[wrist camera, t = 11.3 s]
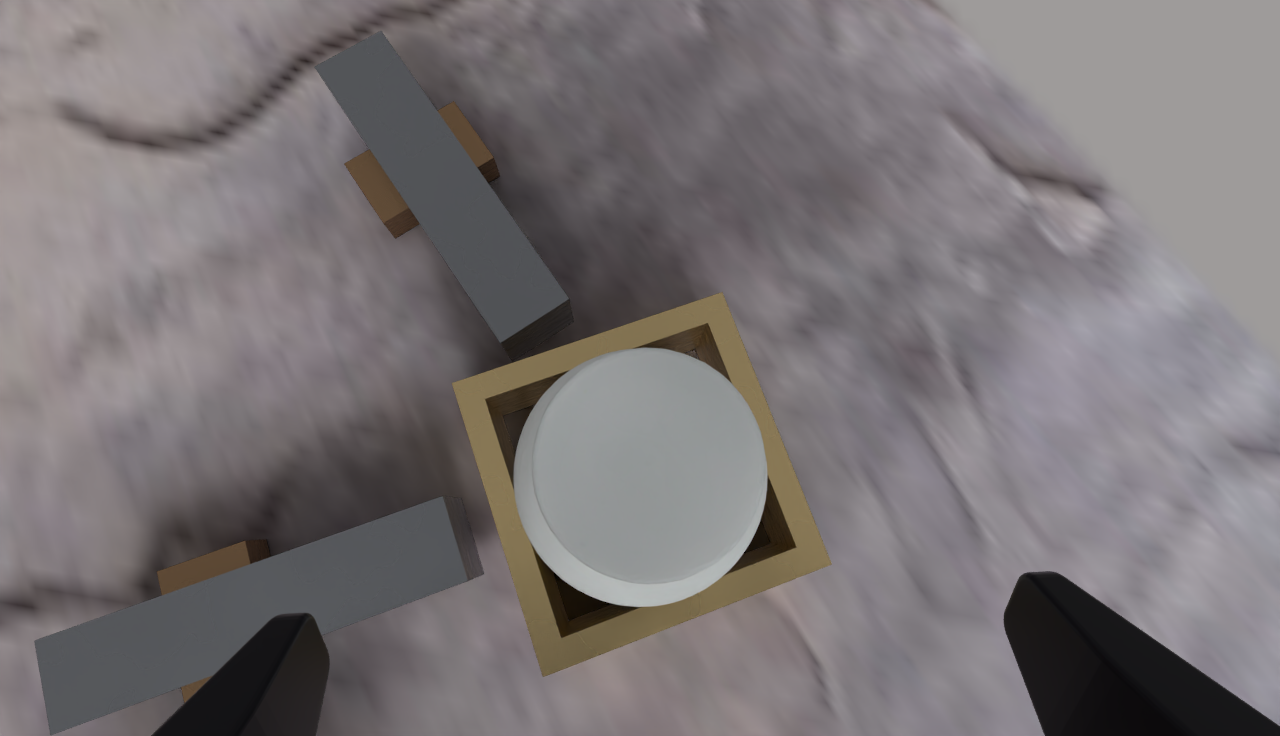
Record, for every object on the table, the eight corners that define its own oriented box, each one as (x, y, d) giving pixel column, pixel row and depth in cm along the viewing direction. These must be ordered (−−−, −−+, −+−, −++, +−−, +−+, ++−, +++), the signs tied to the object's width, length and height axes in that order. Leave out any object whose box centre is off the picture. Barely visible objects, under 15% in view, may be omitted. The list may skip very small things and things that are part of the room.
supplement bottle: (629, 617, 20) (645, 709, 11) (505, 484, 21) (417, 461, 11) (754, 486, 21) (871, 465, 12) (633, 364, 22) (648, 250, 12)
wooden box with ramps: (166, 803, 18) (72, 863, 15) (47, 203, 22) (-50, 149, 19) (800, 557, 21) (835, 565, 17) (598, 44, 24) (596, -29, 21)
